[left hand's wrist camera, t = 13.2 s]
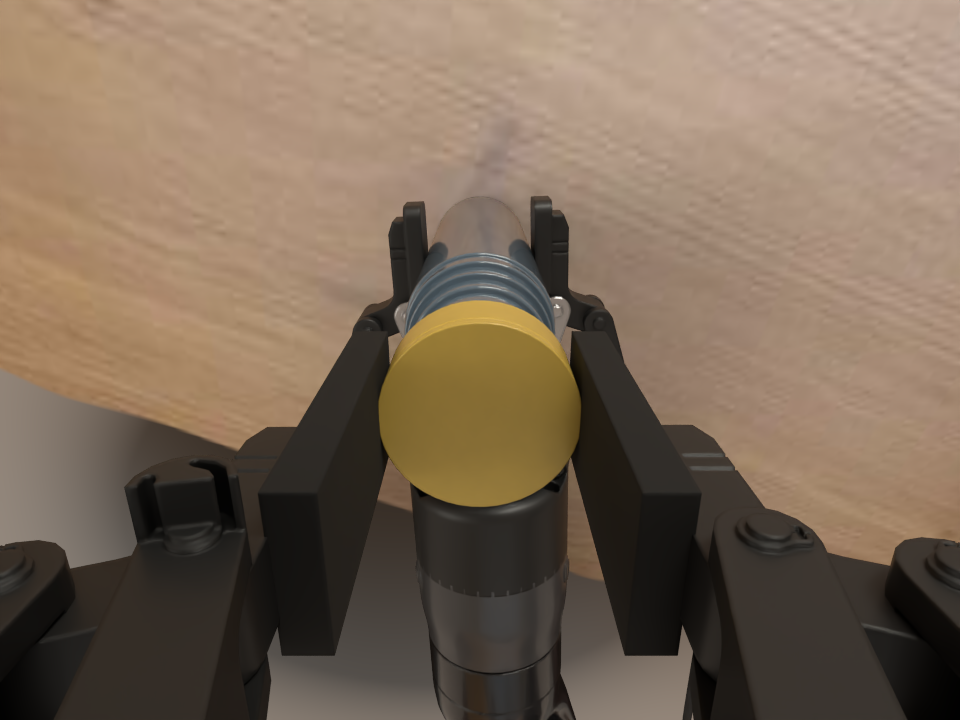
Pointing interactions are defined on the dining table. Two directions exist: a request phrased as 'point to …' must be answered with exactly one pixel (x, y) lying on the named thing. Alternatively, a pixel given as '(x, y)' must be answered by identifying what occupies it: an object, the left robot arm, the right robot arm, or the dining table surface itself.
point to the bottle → (480, 264)
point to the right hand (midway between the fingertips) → (478, 203)
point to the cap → (479, 405)
